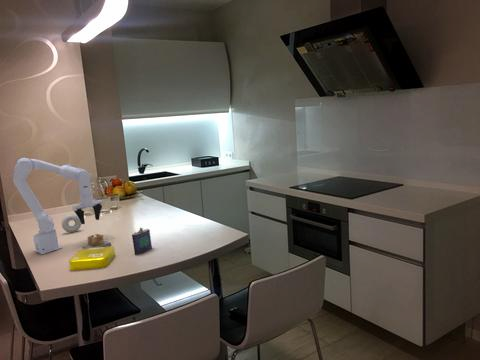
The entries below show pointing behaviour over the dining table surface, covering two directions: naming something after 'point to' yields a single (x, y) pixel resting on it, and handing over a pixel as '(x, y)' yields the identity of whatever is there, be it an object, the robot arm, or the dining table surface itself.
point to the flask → (141, 241)
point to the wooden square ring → (95, 240)
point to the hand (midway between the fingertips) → (90, 221)
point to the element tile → (92, 258)
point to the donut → (69, 218)
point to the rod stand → (97, 246)
